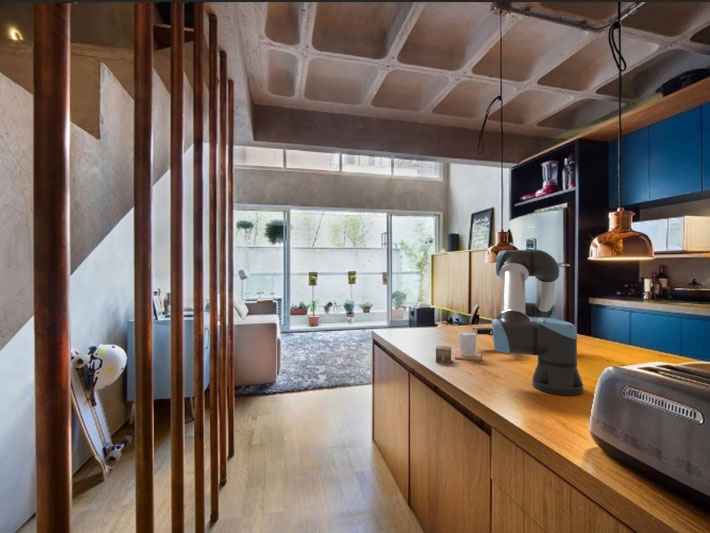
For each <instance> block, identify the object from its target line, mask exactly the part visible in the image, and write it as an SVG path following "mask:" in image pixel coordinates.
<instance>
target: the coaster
mask: <svg viewBox="0 0 710 533" xmlns="http://www.w3.org/2000/svg"><path fill="white" fill-rule="evenodd" d="M461 359H462V360H463V361H475V362H482V353H481V352H475V356H473V357H466V356H462V355H460V351H456V353H455V357H454V360H461Z"/></svg>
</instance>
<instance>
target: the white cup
mask: <svg viewBox="0 0 710 533" xmlns="http://www.w3.org/2000/svg"><path fill="white" fill-rule="evenodd" d="M458 347H459V352H460V355H462V356H466V357H473V356H475V353H476V350H477V335H476V333H474V332H468V331H458Z"/></svg>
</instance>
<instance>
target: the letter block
mask: <svg viewBox="0 0 710 533" xmlns="http://www.w3.org/2000/svg"><path fill="white" fill-rule="evenodd" d="M451 361H452V346H450V345H437V346H435V363H440V362H444V363H443V364H451Z"/></svg>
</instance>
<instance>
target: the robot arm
mask: <svg viewBox="0 0 710 533" xmlns="http://www.w3.org/2000/svg"><path fill="white" fill-rule="evenodd" d="M495 274H496V276H498V277H499V278H500V279H501V281H502V286H501V288H502V289H501V302H500V303H501V305H500V307H501V308H500V313H498V314H497V316H496V318H495V319H492V320H491V327H489V326H488V327H474V328H472V330H471V329H470V330H467V332H474V333H476V336H477V335H488V336H491V337H492V342H493V347H494V350H496V351H497V352H498V353H505V354H516V355H527V356H537V365H536V366H535V369H534V373H533V376H532V386H533V387H534V388H535V389H537V390H539V391H542V392H544V393H548V394H553V395H556V396H557V395H558V396H567V397H568V396H569V397H570V396H579V395H582V394H583V393H584V383H583V380H582V377H581V375H580V371H579V369H578V342H577V341H578V339H579V338H578V332H577V327H576V326H575V325H574V324H573V323H571V322H569V321H565V320H562V319H557V315H558V314H557V313H558V307H557V304H556V303H554V299H555V289H556V282H557V280H558V279H559V276H560V266H559V264H558V261H556V259H555V257H554V256H552V255H551V254H549V253H548V252H547V251H543V250H541V249H507V250H501V251H499V252H498V254H497V257H496V263H495ZM529 277H535V279H536V291H535V302H526V281H527V280H528V278H529ZM531 318H532V319H533V318H534V319H537V320H536V321H531V320H530V319H531Z"/></svg>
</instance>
